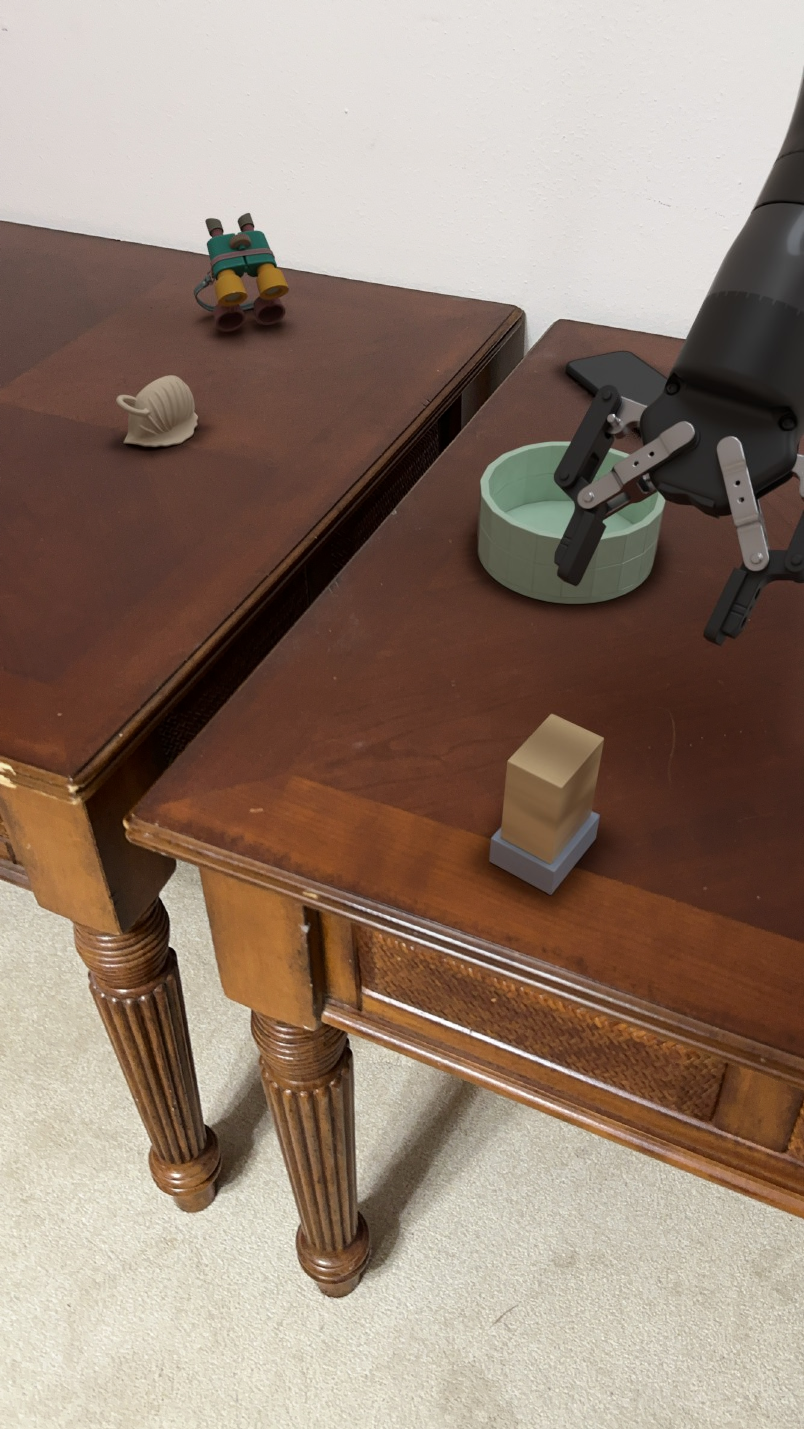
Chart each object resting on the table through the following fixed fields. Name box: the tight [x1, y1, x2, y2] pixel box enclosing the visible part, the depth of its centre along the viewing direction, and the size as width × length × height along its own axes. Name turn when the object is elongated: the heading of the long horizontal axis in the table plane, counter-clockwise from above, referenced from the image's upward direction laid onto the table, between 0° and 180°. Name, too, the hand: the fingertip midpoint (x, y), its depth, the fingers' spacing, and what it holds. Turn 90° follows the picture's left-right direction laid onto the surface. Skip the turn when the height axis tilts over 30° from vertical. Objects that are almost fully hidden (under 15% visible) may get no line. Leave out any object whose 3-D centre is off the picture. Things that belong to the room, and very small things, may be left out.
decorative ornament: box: [116, 374, 199, 448], centre depth 94 cm, size 4×8×5 cm, turn 140°
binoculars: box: [193, 212, 290, 333], centre depth 110 cm, size 9×9×10 cm
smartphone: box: [565, 350, 668, 433], centre depth 100 cm, size 7×1×15 cm
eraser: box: [488, 713, 605, 896], centre depth 59 cm, size 5×4×8 cm
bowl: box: [476, 441, 667, 605], centre depth 81 cm, size 13×13×6 cm
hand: (637, 610), depth 58 cm, fingers open, 8 cm apart
